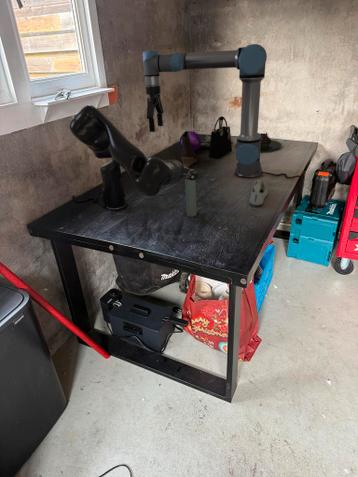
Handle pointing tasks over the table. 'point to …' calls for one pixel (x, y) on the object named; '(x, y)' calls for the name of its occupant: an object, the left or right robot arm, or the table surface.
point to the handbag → (220, 140)
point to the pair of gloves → (207, 142)
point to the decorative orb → (193, 141)
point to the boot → (187, 151)
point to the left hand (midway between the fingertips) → (182, 168)
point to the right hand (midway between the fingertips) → (156, 128)
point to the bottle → (190, 197)
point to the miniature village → (268, 144)
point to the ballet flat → (258, 193)
